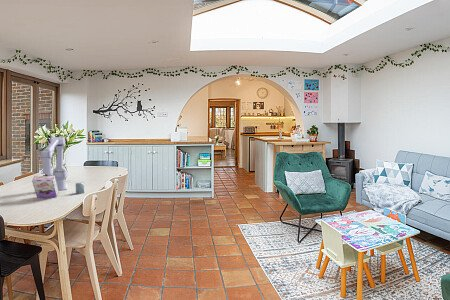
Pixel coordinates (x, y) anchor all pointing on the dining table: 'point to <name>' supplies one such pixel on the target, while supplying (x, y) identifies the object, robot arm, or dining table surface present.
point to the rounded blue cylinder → (79, 188)
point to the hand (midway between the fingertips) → (47, 184)
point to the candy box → (45, 186)
